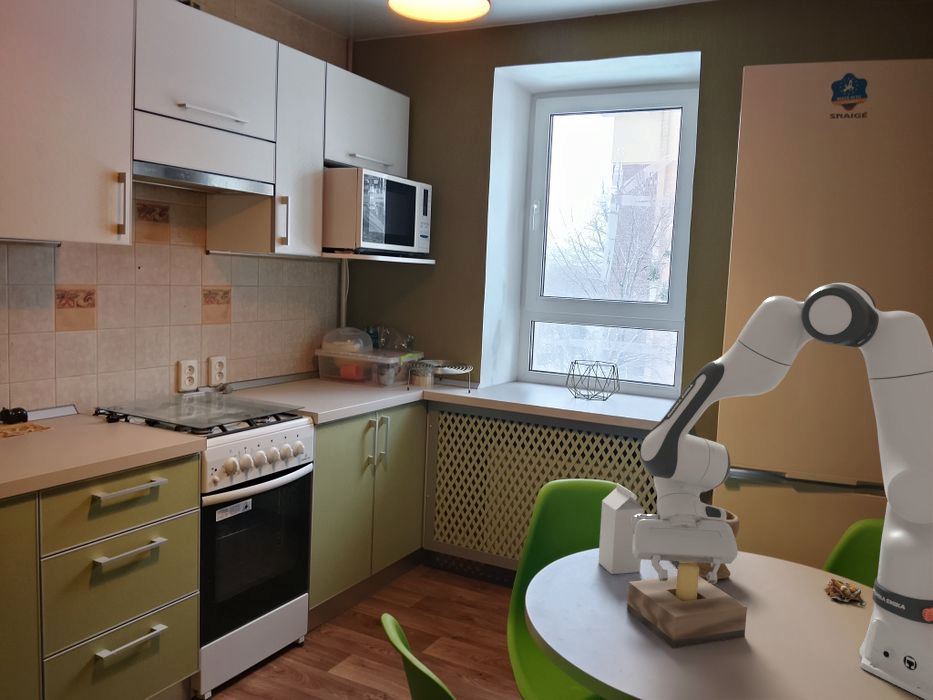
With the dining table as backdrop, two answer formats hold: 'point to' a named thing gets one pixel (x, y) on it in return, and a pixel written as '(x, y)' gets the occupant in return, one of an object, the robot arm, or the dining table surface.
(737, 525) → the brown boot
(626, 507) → the milk carton
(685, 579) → the pin
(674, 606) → the bore block
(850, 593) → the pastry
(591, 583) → the dining table surface
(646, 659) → the dining table surface
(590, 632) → the dining table surface
